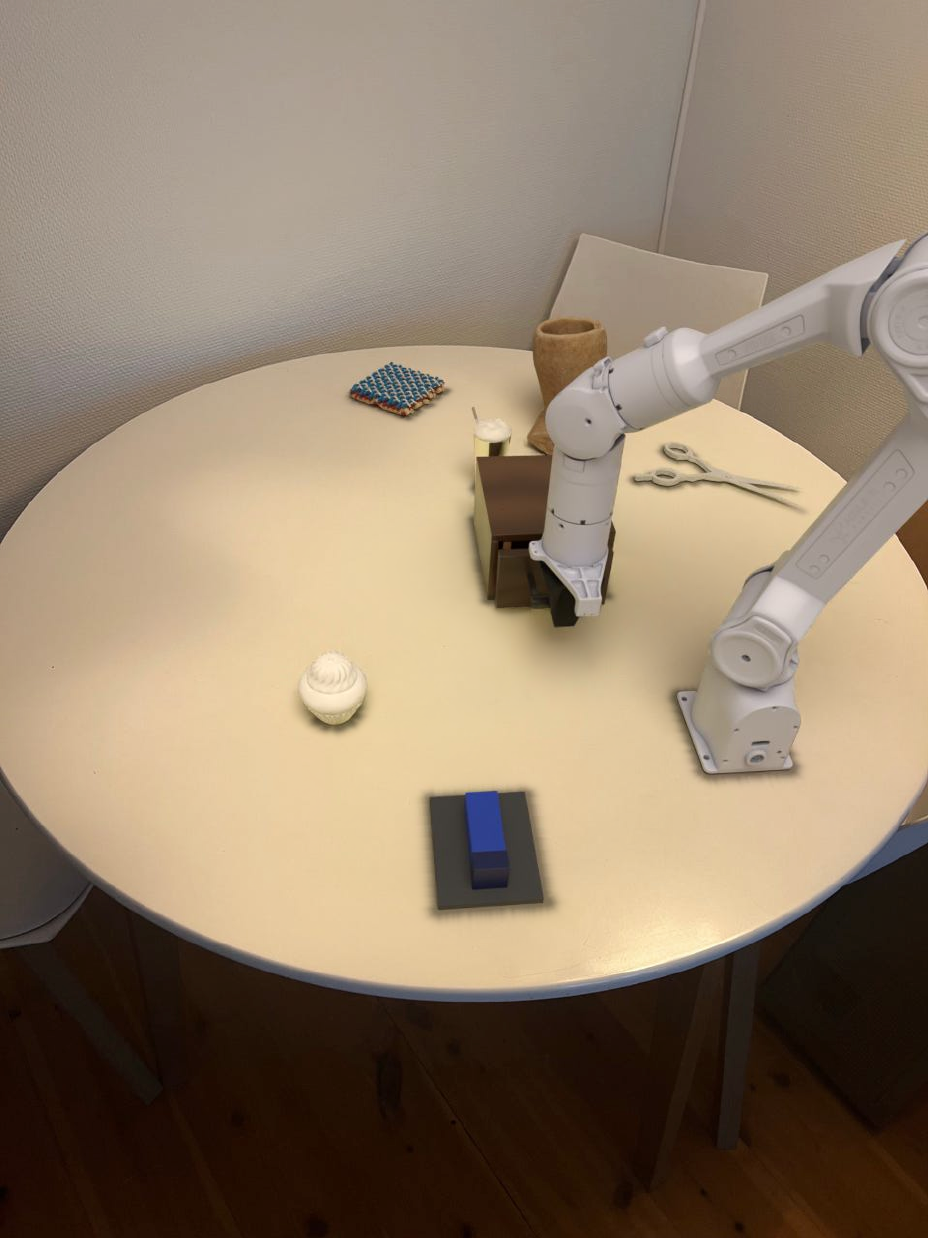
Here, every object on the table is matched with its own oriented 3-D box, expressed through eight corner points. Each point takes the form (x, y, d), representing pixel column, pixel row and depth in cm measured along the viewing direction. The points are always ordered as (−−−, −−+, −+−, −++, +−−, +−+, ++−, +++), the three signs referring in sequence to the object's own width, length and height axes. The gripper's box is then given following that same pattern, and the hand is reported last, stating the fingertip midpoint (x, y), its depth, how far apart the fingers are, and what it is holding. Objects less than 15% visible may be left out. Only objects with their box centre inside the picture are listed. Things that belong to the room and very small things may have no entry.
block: (496, 809, 73) (498, 789, 71) (507, 887, 67) (509, 868, 66) (463, 811, 72) (464, 791, 71) (472, 890, 67) (473, 870, 65)
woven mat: (448, 390, 127) (449, 377, 126) (406, 420, 120) (406, 407, 119) (390, 371, 131) (389, 358, 130) (345, 399, 124) (345, 386, 123)
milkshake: (480, 471, 112) (484, 399, 105) (514, 487, 109) (520, 415, 102) (458, 486, 109) (460, 413, 102) (492, 503, 106) (496, 429, 100)
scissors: (657, 436, 118) (810, 474, 112) (656, 442, 118) (809, 479, 112) (634, 475, 110) (797, 517, 104) (633, 481, 111) (795, 523, 105)
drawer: (614, 635, 88) (624, 583, 84) (501, 640, 87) (506, 587, 83) (579, 527, 102) (587, 477, 97) (481, 530, 101) (484, 480, 96)
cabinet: (604, 596, 94) (616, 531, 88) (487, 600, 93) (491, 535, 87) (578, 516, 105) (587, 453, 99) (473, 519, 104) (476, 456, 98)
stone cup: (542, 401, 126) (552, 297, 116) (623, 420, 122) (640, 314, 112) (502, 451, 115) (510, 342, 105) (589, 473, 112) (606, 362, 102)
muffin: (372, 689, 83) (369, 635, 78) (364, 739, 79) (361, 685, 74) (307, 686, 83) (300, 631, 78) (295, 735, 79) (287, 681, 74)
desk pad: (543, 902, 67) (543, 898, 67) (438, 910, 66) (438, 906, 66) (524, 795, 75) (524, 791, 74) (429, 801, 74) (429, 796, 73)
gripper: (522, 461, 81) (511, 576, 90) (548, 559, 70) (533, 678, 79) (597, 459, 82) (579, 573, 91) (634, 556, 71) (610, 674, 80)
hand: (563, 622), depth 85 cm, fingers closed
